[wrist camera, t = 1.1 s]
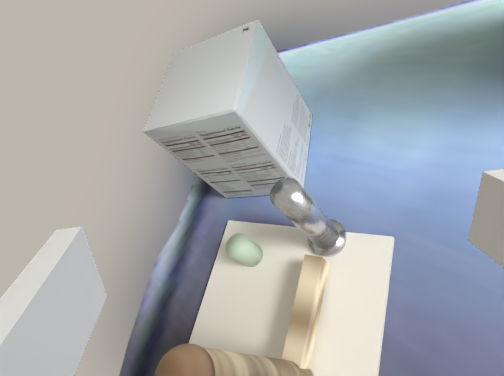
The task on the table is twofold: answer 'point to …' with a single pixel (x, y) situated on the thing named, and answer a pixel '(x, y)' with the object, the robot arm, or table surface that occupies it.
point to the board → (283, 295)
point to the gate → (258, 367)
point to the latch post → (244, 250)
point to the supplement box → (233, 114)
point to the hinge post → (308, 217)
